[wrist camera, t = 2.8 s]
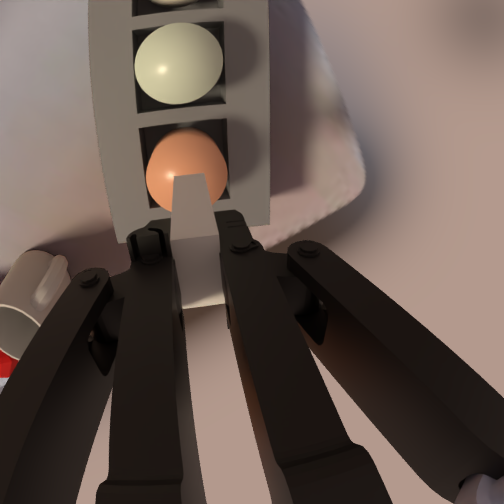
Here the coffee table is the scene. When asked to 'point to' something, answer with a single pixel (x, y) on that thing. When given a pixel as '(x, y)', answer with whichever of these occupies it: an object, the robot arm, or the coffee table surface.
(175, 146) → the orange egg
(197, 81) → the pale green egg
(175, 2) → the cream ball
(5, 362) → the apple
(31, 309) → the cup
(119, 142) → the grey socket tray
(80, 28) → the coffee table surface
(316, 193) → the coffee table surface
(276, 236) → the coffee table surface
